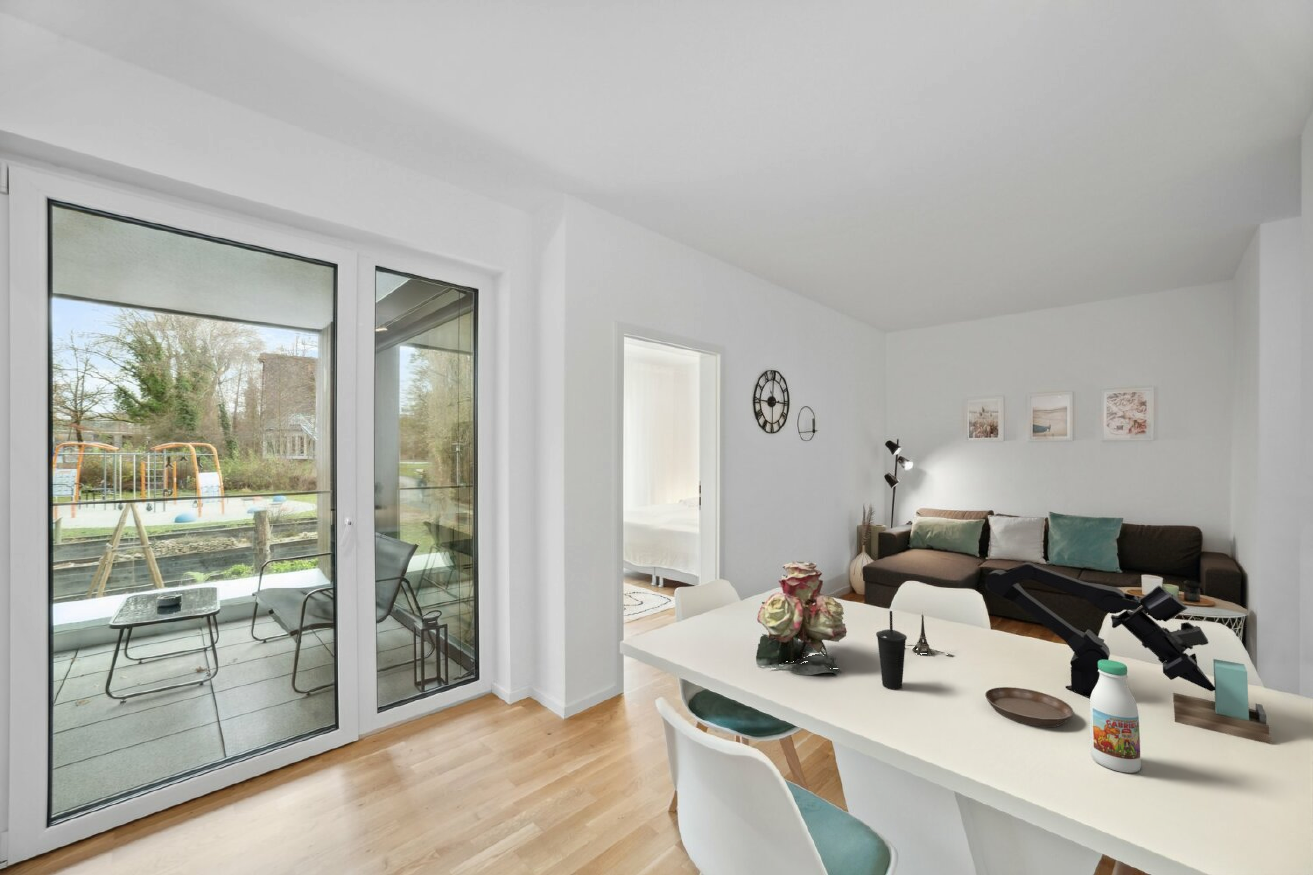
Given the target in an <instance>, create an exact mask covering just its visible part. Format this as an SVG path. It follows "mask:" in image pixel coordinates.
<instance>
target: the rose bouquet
mask: <svg viewBox="0 0 1313 875" xmlns="http://www.w3.org/2000/svg"><path fill="white" fill-rule="evenodd" d="M808 562H809V563H808ZM808 562H805V561H792V562H789V563H785V564H784V565H781V568H783V569H784V570H785V571H786V572H787V575H785V574H783V575H781V579H779V580H778V583H779V584H780V587H781V590H782V592H780V591H777V592H774V594H771V595H770V596H769V597H768V598H767V600H766V601H762V602H761V607H759V608H760V610H759V611H758V613H757V617H756V618H757V619H756V620H757V622H758V623H759V624H761V625H762V626H763V627H764V628H765V629H766V630H767V631H768V634H766V633H761V636H760V637H759V638H760V639H759V643H758V644H757V650H756V656H755V661H756V665H757V667H758V668H762V669H767V668H770V669H773V668H776V669H774V670H773V671H779V670H780V671H781V670H783V671H786V670H788V671H789V672H791V673H793V674H795V675H800V676H801V675H804V676H805V675H807V676H812V675H817V674H823V673H833V674H834V675H835V676H839V675H840V674H841V672H842V669H841V668H840V667H839V666H838V665H837V663H836V661H835V660H837V657H831V658H830V656H829V655H828V651H827V648H826V645H825V643H824V641H828V642H835V643H836V642H837V643H838V642H840V640H842V639H844V638H845V637H847V632H848V630H847V628H846V623H843V620H844V617H843V616H844V614H845V613H844V612H845V611H844V608H843V605H842V603H840V602H838V601H836V600H835V599H834V598H833V597H832V596H830V595H828V594H826V595H825V594H822V593H820V592H821V589H822V587H823V582H824V580H823V579H819V578H821V576H822V574H823V573H822V571H820V570H817V569H816V568H817V567H818V565H817V563H816V562H812V560H809V561H808ZM805 652H808V653H807V654H809V653H819V654H820V652H821V654H820V655H819V654H815V655H812V656H808V655H807V656H808V657H806V656H804V655H805ZM824 653H825V654H824ZM802 655H803V656H802ZM822 655H824V656H822ZM803 657H805V658H803ZM801 660H802V662H803V661H808V662H806V663H805V662H804V663H802V664H799V663H796V662H795V661H797V662H798V661H801ZM786 661H788V662H793V661H794V662H795V664H796V665H789V664H790V663H789V664H788V663H787V664H788V665H785V664H786V663H785V662H786ZM834 661H835V662H834ZM782 663H784V664H782ZM779 664H781V665H779ZM782 665H783V666H782ZM830 668H831V669H830ZM833 668H840V669H833ZM769 672H772V670H771V671H769Z"/></svg>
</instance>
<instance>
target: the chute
mask: <svg viewBox="0 0 1313 875" xmlns="http://www.w3.org/2000/svg"><path fill="white" fill-rule="evenodd" d="M1172 694H1173V695H1172V696H1173V713H1174V723H1180V724H1182V725H1183V724H1184V725H1188V726H1192V727H1196V728H1201V729H1204V730H1205V729H1206V730H1208V731H1212V732H1217V733H1222V734H1226V735H1230V736H1235V737H1238V738H1243V739H1247V740H1250V741H1251V740H1252V741H1255V742H1259V743H1264V744H1268V745H1271V743H1272V742H1271V740H1272V739H1271V735H1270V727H1269V724H1267V723H1268V722H1267V720H1268V719H1267V714H1266V710H1265V709H1264V706H1263V704H1260V703H1255V709H1253V708H1249V720H1244V719H1240V718H1235V717H1231V716H1226V715H1221V714H1217V713H1216V711H1215V700H1208V699H1204V698H1201V697H1200V698H1199V697H1195V696H1191V695H1190V696H1189V695H1185V694H1180V693H1176V692H1173V693H1172Z"/></svg>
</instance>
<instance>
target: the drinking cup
mask: <svg viewBox="0 0 1313 875" xmlns="http://www.w3.org/2000/svg"><path fill="white" fill-rule="evenodd" d="M893 627H894V626H893V611H892V610H889V629H883V630H882V629H881V630H879V631H877V632H876V633H875V635H876V638H877V644H878V646H877V647H878V655H879V665H880V673H881V674H880V675H881V682H882V684H881V685H882V686H883V687H884V688H886V689H889V690H894V691H895V690H901V689H902V688H903V678H904V665H905V654H906V652H905V651H906V649H905V646H906V643H907V642H906V641H907V639H908V636H907V635H906V634H904V633H902V632H900V631H899V630H895V629H893Z"/></svg>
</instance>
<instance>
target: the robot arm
mask: <svg viewBox="0 0 1313 875" xmlns="http://www.w3.org/2000/svg"><path fill="white" fill-rule="evenodd" d="M1029 579H1030V580H1032V581H1035V582H1038V583H1040V584H1043V585H1046V586H1049V587H1051V588H1054V589H1056V590H1060V591H1063V592H1065V593H1067V594H1071V595H1074V596H1076V597H1079V598H1080V599H1083V600H1084V601H1086V602H1088V603H1089V604H1090V605H1092V606H1094V607H1096V608H1098V609H1099V610H1101V611H1103V612H1106V613H1109V614H1112V615H1110V619H1111V627H1112V628H1113V629H1116V628H1118V627H1119V626H1120V625H1122V626H1123V627H1124V628H1125V630H1126V629H1127V631H1128V632H1130V633H1131V635H1133V636H1134V637H1135V638H1136V639H1138V641H1140V642H1141V646H1143V647H1144V648H1145V649H1148V650H1149V651H1151V652H1152V654H1154V656H1156V657H1157V658H1158V661H1159V662H1160V663H1161V664H1162V673H1163V675H1165V676H1166V677H1167V678H1168V679H1169V680H1170V681H1171V680H1172V681H1173V680H1175V679H1176V678H1178V677H1179V678H1180V679H1182V680H1186V681H1188V682H1189V683H1191V684H1194V685H1197V686H1198V687H1201V688H1203V689H1205V690H1206V691H1209V692H1215V687H1214V683H1212V682H1211V681H1210V679H1209V678H1208V676H1207V675H1206V674H1205V673H1204V672H1203V671H1202V669H1201V668H1200V667H1199V665H1198V660H1197V654H1196V653H1195V652H1194V653H1191V654H1190V655H1189V654H1187V653H1186V651H1187V649H1189V650H1192V649H1194V647H1196V646H1205V645H1208V644H1209V640H1208V638H1207V636H1206V634H1205V633H1204V632H1203V629H1202V628H1201V626H1198V625H1195V626H1194V625H1193V624H1191V623H1190V622H1189V621H1187V622H1181V623H1180V629H1179V628H1178V629H1176V630H1173V631H1171V630H1169V629H1168V628H1167V627H1161V626H1160V625H1159V624H1158V623H1157V622H1156V621H1159V622H1161V621H1163V622H1165V623H1166V622H1168V621H1169V620H1171V619H1173V618H1174V617H1176V616H1177V615H1179V614H1182V613H1183V612H1185V611H1186V610H1187V609H1188V607H1187V605H1186V604H1185V603H1184V602H1182V600H1180V599H1179V597H1177V596H1176V595H1175V594H1174V593H1171V592H1169V590H1167V589H1164V588H1163V587H1162V586H1161V585H1157V586H1156V587H1154V588H1153V589H1152V590H1151V591H1149V592H1148V593H1147V594H1145V595H1143V596H1139V595H1135V594H1131V593H1126V592H1124V591H1123V590H1122V589H1120V588H1118V587H1116V586H1109V585H1106V584H1101V583H1094V582H1092V583H1091V582H1086V581H1082V580H1080V579H1076V578H1074V577H1071V576H1068V575H1065V574H1062V573H1060V572H1057V571H1055V570H1051V569H1048V568H1045V567H1042V566H1040V565H1037V564H1035V563H1033V562H1029V561H1028V562H1025V563H1022V564H1021V565H1017V566H1015V567H1012V568H1009V569H1006V570H1003V569H995V570H993V571H991V572H989V574H987V575H986V576H985V578H984V585H985V588H986V589H987V590H988V591H989V592H991V594H994V595H996V596H998V597H1000V598H1002V599H1004V600H1006V601H1009V602H1012V603H1014V604H1015V605H1016V606H1018V608H1020V609H1022V610H1023V611H1024V612H1026V613H1027V614H1028V615H1030V616H1031V617H1033V618H1034V619H1035V620H1037V621H1038V622H1039V623H1040V624H1042V625H1043V626H1044V627H1046V628H1047V629H1048V630H1050V631H1051V632H1052V633H1053V634H1055V635H1056V636H1058V637H1059V638H1061V640H1063V641H1064V642H1065V643H1066V644H1067V645H1068V646H1069V648H1070V649H1071V650H1072V652H1073V655H1072V657H1071V660H1070V685H1065V688H1066V689H1067V690H1070V691H1072V692H1074V693H1076V694H1078V695H1081V696H1083V697H1086V698H1089V699H1090V697H1091V694H1092V691H1093V689H1094V688H1095V686H1096V684H1097V682H1098V680H1099V676H1100V673H1099V672H1098V670H1099V669H1098V661H1099V660H1110V655H1111V651H1110V648H1109V646H1108V644H1106V643H1105V639H1104V638H1101V637H1099V636H1098V635H1096V634H1095V633H1094V632H1093V631H1092V630H1091V629H1087V630H1086V631H1081V630H1079V629H1077V628H1075V627H1074V626H1072V625H1071V624H1070V623H1069V622H1067V621H1066V620H1065V619H1063V618H1062V617H1061V616H1059V615H1058V614H1056V613H1055V612H1053V611H1052V609H1049V608H1048V607H1047V606H1046V605H1045V604H1043V603H1041V602H1040V601H1038V600H1037V599H1036V598H1035V597H1033V596H1032V595H1030V594H1029V593H1028V592H1026V591H1025V590H1024V588H1022V586H1021V585H1020V583H1022V582H1023V581H1026V580H1029ZM1146 613H1147V614H1146ZM1114 614H1115V615H1114ZM1117 614H1119V615H1117Z"/></svg>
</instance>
